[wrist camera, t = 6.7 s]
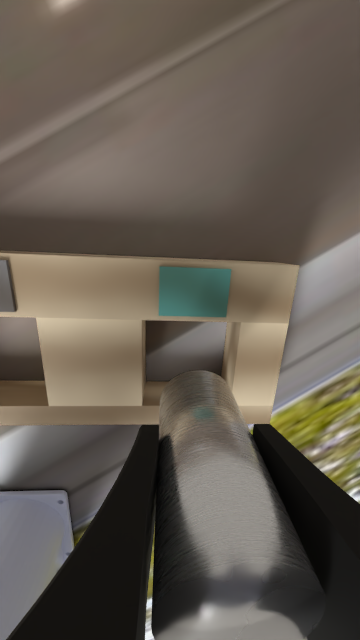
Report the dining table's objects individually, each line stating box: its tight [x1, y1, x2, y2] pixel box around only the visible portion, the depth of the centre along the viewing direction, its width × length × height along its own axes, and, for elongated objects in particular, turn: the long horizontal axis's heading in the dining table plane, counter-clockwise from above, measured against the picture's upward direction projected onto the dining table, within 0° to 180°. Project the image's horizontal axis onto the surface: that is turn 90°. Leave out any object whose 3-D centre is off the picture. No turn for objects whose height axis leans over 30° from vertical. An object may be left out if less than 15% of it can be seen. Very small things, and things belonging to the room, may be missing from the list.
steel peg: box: [151, 370, 326, 640], centre depth 8 cm, size 4×4×7 cm
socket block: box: [0, 251, 299, 425], centre depth 16 cm, size 11×24×3 cm, turn 87°
